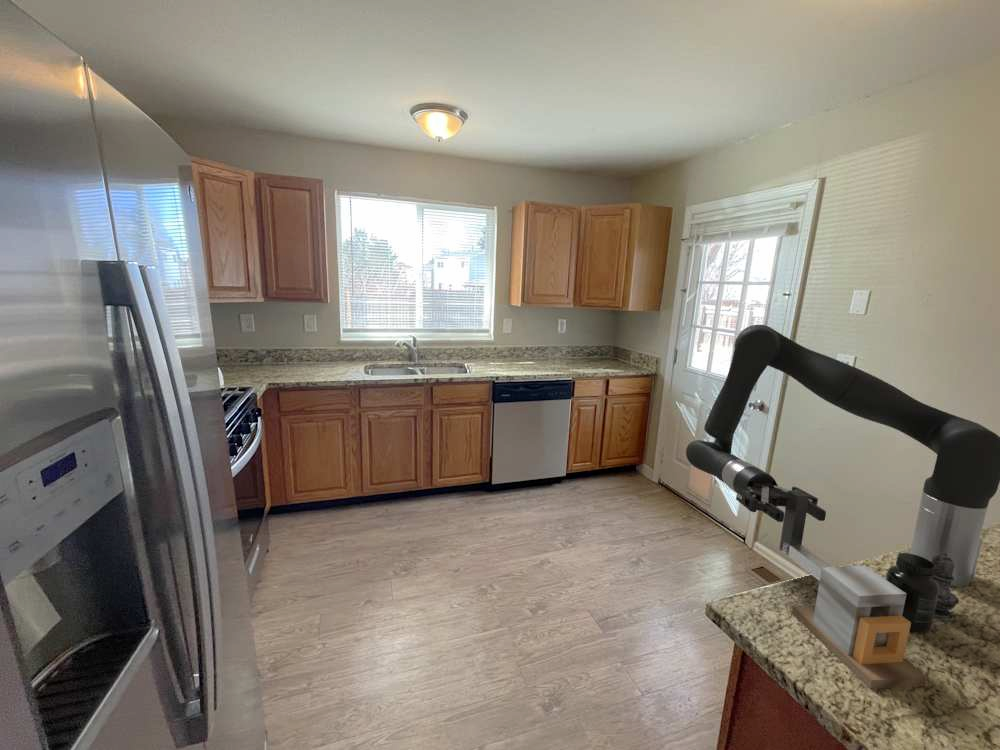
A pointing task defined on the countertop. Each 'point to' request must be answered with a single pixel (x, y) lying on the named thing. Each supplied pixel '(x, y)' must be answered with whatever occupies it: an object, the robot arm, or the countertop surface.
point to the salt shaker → (944, 586)
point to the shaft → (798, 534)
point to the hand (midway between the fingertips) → (803, 517)
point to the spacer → (895, 642)
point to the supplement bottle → (916, 589)
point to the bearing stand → (857, 621)
